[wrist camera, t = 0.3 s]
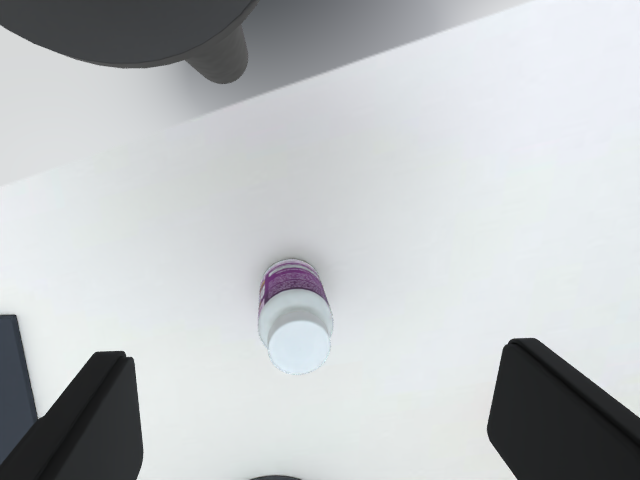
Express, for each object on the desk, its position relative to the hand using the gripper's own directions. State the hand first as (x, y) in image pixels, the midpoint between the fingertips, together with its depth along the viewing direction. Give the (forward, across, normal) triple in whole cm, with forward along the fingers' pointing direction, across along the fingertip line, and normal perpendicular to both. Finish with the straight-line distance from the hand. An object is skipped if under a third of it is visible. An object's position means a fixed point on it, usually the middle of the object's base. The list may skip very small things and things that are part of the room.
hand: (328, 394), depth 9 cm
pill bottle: (+22, 0, +7) cm, 23 cm away
